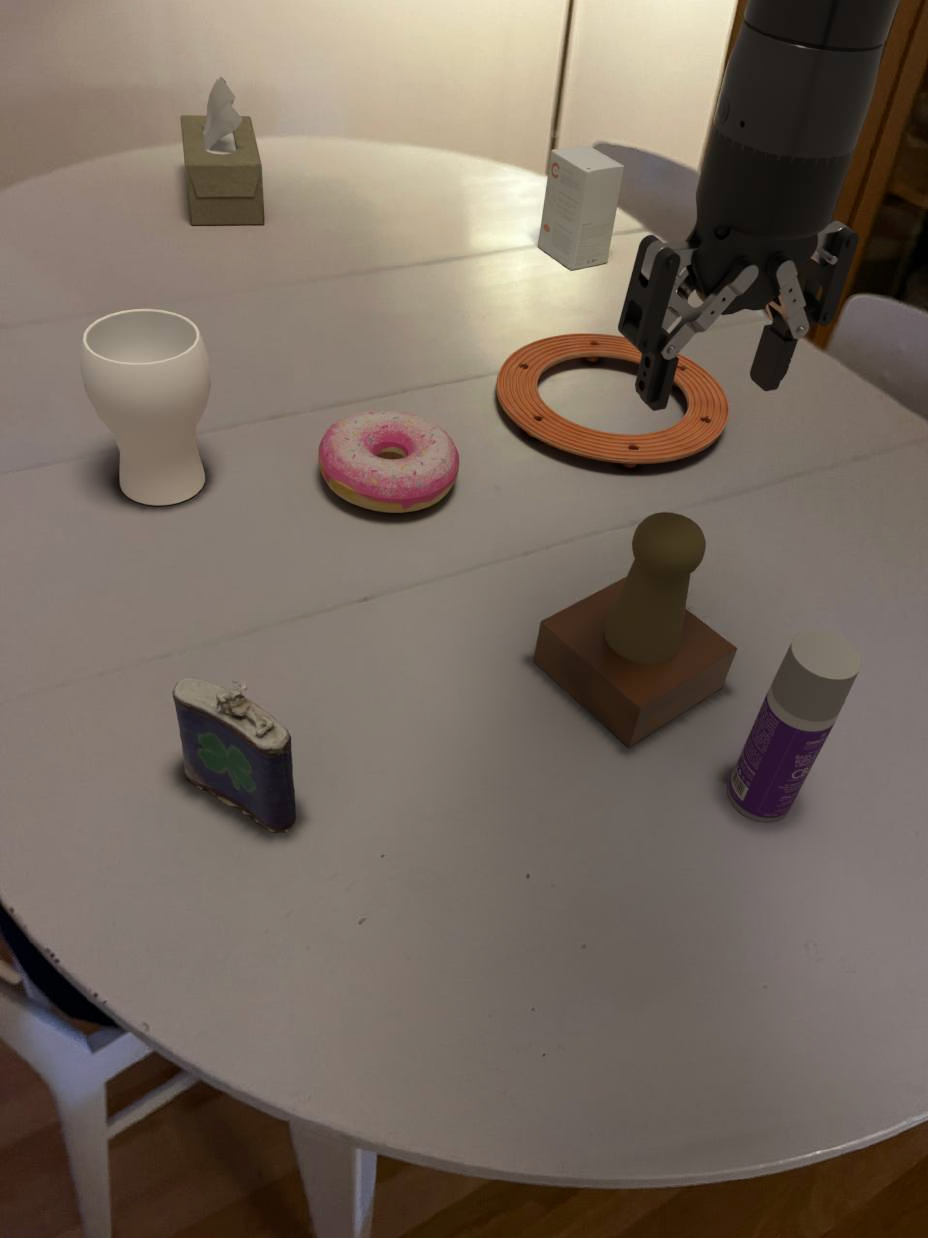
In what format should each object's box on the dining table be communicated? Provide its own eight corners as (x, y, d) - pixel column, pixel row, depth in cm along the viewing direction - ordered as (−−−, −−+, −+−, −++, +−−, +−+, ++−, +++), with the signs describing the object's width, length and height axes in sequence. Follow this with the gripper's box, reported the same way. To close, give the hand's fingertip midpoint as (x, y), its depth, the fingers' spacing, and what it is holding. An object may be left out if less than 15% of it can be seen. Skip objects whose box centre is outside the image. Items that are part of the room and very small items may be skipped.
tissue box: (264, 226, 138) (259, 101, 127) (190, 226, 136) (178, 99, 125) (253, 172, 151) (247, 55, 140) (185, 172, 149) (174, 53, 138)
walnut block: (722, 687, 83) (737, 648, 80) (628, 748, 77) (640, 708, 74) (626, 609, 88) (637, 570, 85) (532, 660, 83) (540, 621, 80)
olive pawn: (690, 661, 78) (729, 551, 70) (615, 666, 77) (645, 555, 69) (666, 607, 82) (700, 498, 75) (595, 611, 81) (621, 501, 74)
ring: (526, 483, 101) (529, 463, 99) (472, 353, 118) (474, 333, 116) (761, 470, 106) (768, 451, 104) (676, 347, 123) (681, 329, 122)
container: (777, 833, 73) (850, 692, 62) (717, 801, 74) (778, 658, 64) (799, 790, 76) (872, 649, 65) (740, 760, 77) (803, 617, 67)
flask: (177, 776, 72) (160, 672, 64) (206, 750, 74) (193, 645, 66) (281, 841, 69) (275, 738, 61) (308, 811, 71) (306, 709, 63)
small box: (607, 263, 139) (626, 165, 130) (570, 271, 136) (586, 171, 127) (572, 239, 144) (588, 143, 135) (536, 246, 141) (549, 148, 132)
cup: (153, 436, 101) (132, 294, 90) (243, 471, 98) (232, 327, 88) (78, 491, 94) (46, 343, 83) (173, 530, 91) (152, 381, 80)
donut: (461, 527, 95) (466, 483, 91) (316, 523, 93) (315, 479, 90) (452, 444, 104) (456, 402, 101) (321, 440, 103) (320, 397, 99)
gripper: (713, 160, 49) (643, 444, 60) (936, 143, 54) (833, 408, 65) (634, 107, 54) (582, 379, 65) (845, 95, 59) (764, 350, 70)
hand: (708, 393), depth 65 cm, fingers open, 8 cm apart
